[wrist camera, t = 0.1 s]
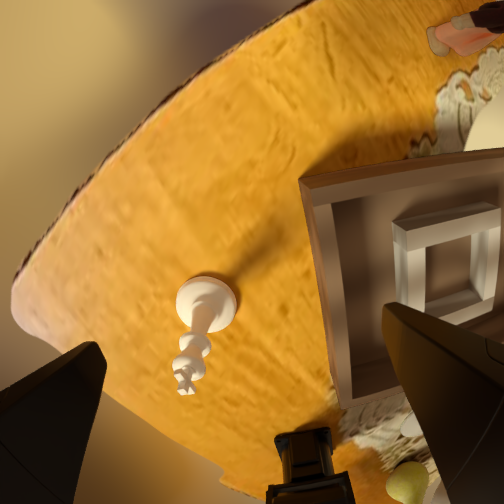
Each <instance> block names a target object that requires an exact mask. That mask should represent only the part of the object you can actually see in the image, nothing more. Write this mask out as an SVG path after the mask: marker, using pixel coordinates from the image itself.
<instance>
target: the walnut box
mask: <svg viewBox="0 0 504 504" xmlns="http://www.w3.org/2000/svg"><path fill="white" fill-rule="evenodd" d="M298 183H299V187H300V192H301V197H302V202H303V207H304V212H305V217H306V222H307V227H308V232H309V237H310V243H311V248H312V254H313V259H314V265H315V271H316V277H317V283H318V289H319V295H320V301H321V308H322V314H323V321H324V328H325V335H326V342H327V350H328V357H329V365H330V373H331V376H332V379H333V383H334V386H335V390H336V394H337V397H338V401H339V404H340V408H341V410H343V409H347V408H351V407H354V406H358V405H362V404H365V403H369V402H372V401H376V400H379V399H382V398H385V397H388V396H392V395H395V394H398V393H401V392H404V390H403V388H402V386H401V384H400V382H399V380H398V377H397V375H396V373H395V370H394V367H393V364H392V361H391V358H390V355H389V352H388V349H387V347H386V344H385V341H384V338H383V335H382V331H381V322H382V307H383V305H384V304H386V303H390V302H399V303H401V304H404V305H406V306H409V307H411V308H414V309H416V310H419V311H421V312H424V313H426V314H429V315H431V316H434V317H437V318H439V319H442V320H444V321H447V322H449V323H452V324H454V325H457V326H459V327H462V328H464V329H467V330H469V331H472V332H474V333H477V334H479V335H482V336H484V337H485V338H489V339H492V340H494V341H497V342H499V343H502V344H504V147H503V148H492V149H482V150H473V151H464V152H455V153H447V154H440V155H432V156H425V157H418V158H411V159H405V160H398V161H392V162H386V163H380V164H374V165H368V166H362V167H357V168H351V169H346V170H341V171H335V172H330V173H325V174H320V175H315V176H310V177H305V178H301V179H298Z"/></svg>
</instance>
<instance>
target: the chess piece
mask: <svg viewBox="0 0 504 504" xmlns="http://www.w3.org/2000/svg"><path fill="white" fill-rule="evenodd" d="M176 309H177V313H178V315H179V317H180V318H181V320H182V321H183V322H184V323H185V324H186V325H187V326H189V327H190V328H191V331H190V332H187V333H185V334H183V335H182V336H181V338H180V340H179V345H180V349H181V351H182V352H181V353H180V354H179V355H178V356H177V357H176V358H175V359H174V361H173V364H172V367H173V370H174V376H175V378H176V379H177V380H178V382H179V385H178V389H177V391H178V392H179V393H180V395H185V394H188V395H190V394H195V391H196V387H195V386H194V385H193V383H192V382H191V381H194V380H198V379H200V378H202V377H203V376H204V374H205V371H206V367H205V363H204V360H203V357H205V356H206V355H207V354H208V353H209V352H210V350H211V342H210V340H209V339H208V338H207V337H206V334H207V333H211V332H217V331H220V330H222V329H224V328H225V327H227V326H228V325H229V324H230V323H231V321H232V320H233V318H234V315H235V313H236V309H237V302H236V298H235V295H234V293H233V291H232V290H231V289H230V287H229V286H228V285H226V284H225V283H224V282H222V281H220V280H218V279H216V278H213V277H207V276H200V277H195V278H192V279H190V280H188V281H187V282H185V283H184V284H183V285H182V286H181V288H180V289H179V291H178V294H177V299H176Z"/></svg>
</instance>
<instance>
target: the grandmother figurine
mask: <svg viewBox="0 0 504 504" xmlns="http://www.w3.org/2000/svg"><path fill="white" fill-rule="evenodd" d="M502 33H504V0H503V1H495V2H490V3H485V4H484V5H482V6H480V7H479V9H476V10H475V11H471V12H469V13H466V14H463V15H461V16H454V17H452V18H451V22H447V23H444V24H442V25H440V26H438V27H437V28H436V27H429V28H428V29H427V36H428V40H429V45H430V48H431V50H432V51H433V52H434V53H435V54H436V55H438V56H446V55H447V54H448V53H449V49H450V48H453V49H454V50H455V52H456V53H458V54H459V55H461V56H468V55H471V54H473V53H475V52H477V51H478V50H480V49H482V48H484V47H485V46H486V45H488V44H489V43H490V42H492V41H493V40H495V39H496V38H497V37H499V36H500V35H501V34H502Z"/></svg>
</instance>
